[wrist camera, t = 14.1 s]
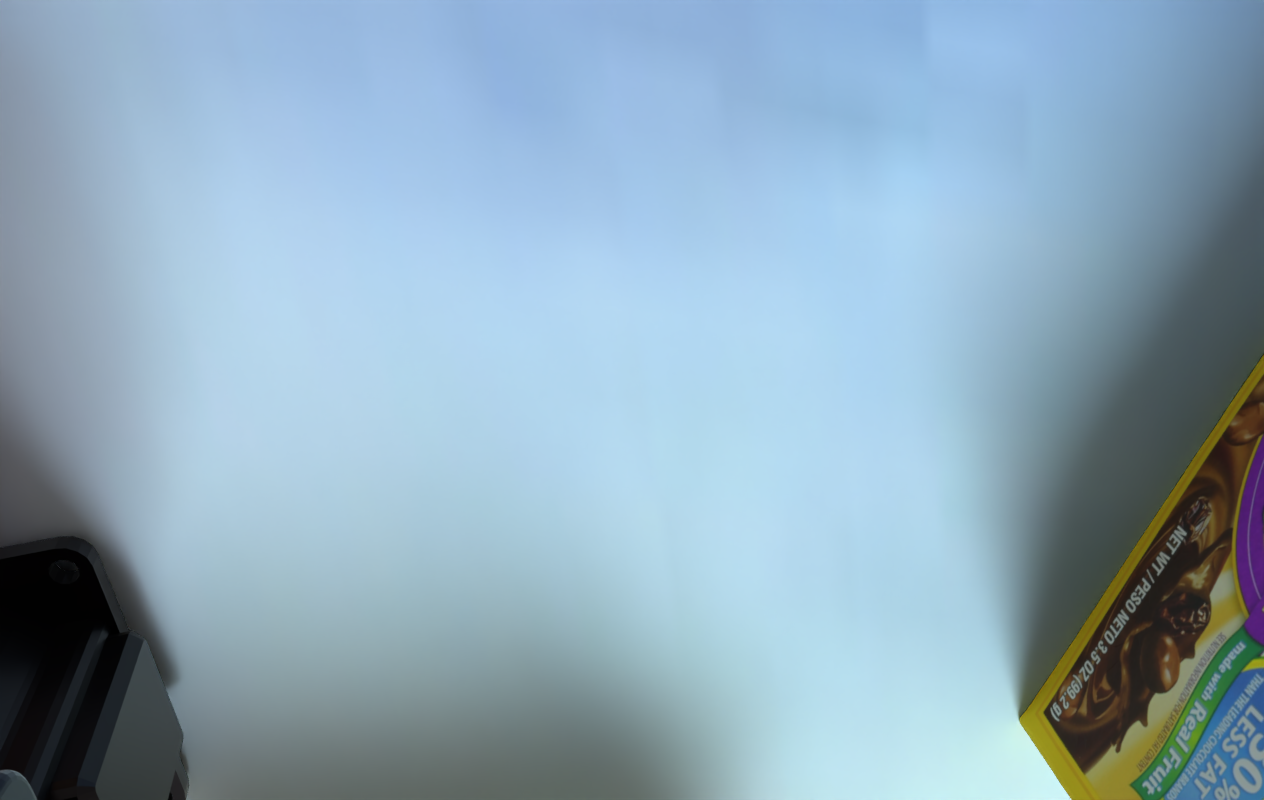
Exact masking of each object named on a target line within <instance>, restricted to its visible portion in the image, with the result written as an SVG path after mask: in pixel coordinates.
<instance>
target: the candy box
mask: <svg viewBox="0 0 1264 800" xmlns="http://www.w3.org/2000/svg"><path fill="white" fill-rule="evenodd" d="M1020 724H1021V725H1022V727H1023V728H1024V730H1025V731H1026V732H1027V734H1028V735H1029V737H1030V738H1031V740H1032V741H1033V743H1034V744H1035V746H1036V747H1037V749H1038V750H1039V752H1040V753H1041V755H1042V756H1043V758H1044V759H1045V761H1046V762H1047V764H1048V765H1049V767H1050V768H1051V770H1052V771H1053V773H1054V774H1055V776H1056V777H1057V779H1058V780H1059V782H1060V783H1061V785H1062V786H1063V788H1064V789H1065V791H1066V792H1067V794H1068V795H1069V796H1070V798H1071V799H1072V800H1264V355H1263V356H1262V357H1261V359H1260V360H1259V362H1258V363H1257V365H1256V366H1255V368H1254V369H1253V371H1252V372H1251V374H1250V375H1249V377H1248V378H1247V380H1246V381H1245V383H1244V384H1243V386H1242V387H1241V389H1240V390H1239V392H1238V393H1237V395H1236V396H1235V398H1234V399H1233V400H1232V402H1231V403H1230V405H1229V406H1228V408H1227V409H1226V411H1225V412H1224V414H1223V416H1222V417H1221V419H1220V420H1219V422H1218V423H1217V425H1216V426H1215V428H1214V429H1213V431H1212V432H1211V433H1210V435H1209V436H1208V438H1207V439H1206V441H1205V442H1204V444H1203V445H1202V446H1201V448H1200V449H1199V451H1198V452H1197V454H1196V455H1195V457H1194V458H1193V460H1192V461H1191V463H1190V464H1189V466H1188V467H1187V469H1186V471H1185V472H1184V474H1183V475H1182V477H1181V478H1180V480H1179V481H1178V483H1177V484H1176V486H1175V487H1174V489H1173V490H1172V492H1171V493H1170V495H1169V496H1168V498H1167V499H1166V501H1165V502H1164V504H1163V505H1162V507H1161V508H1160V510H1159V511H1158V513H1157V514H1156V516H1155V517H1154V519H1153V520H1152V522H1151V523H1150V525H1149V526H1148V528H1147V529H1146V531H1145V532H1144V534H1143V535H1142V537H1141V538H1140V540H1139V541H1138V543H1137V544H1136V546H1135V547H1134V549H1133V550H1132V552H1131V553H1130V555H1129V556H1128V558H1127V559H1126V561H1125V563H1124V564H1123V566H1122V567H1121V569H1120V570H1119V572H1118V573H1117V575H1116V576H1115V578H1114V579H1113V581H1112V582H1111V584H1110V585H1109V587H1108V588H1107V590H1106V591H1105V593H1104V594H1103V596H1102V598H1101V599H1100V601H1099V602H1098V604H1097V605H1096V607H1095V608H1094V610H1093V611H1092V613H1091V614H1090V616H1089V617H1088V619H1087V620H1086V622H1085V623H1084V625H1083V626H1082V628H1081V630H1080V631H1079V633H1078V634H1077V636H1076V637H1075V639H1074V640H1073V642H1072V643H1071V645H1070V646H1069V648H1068V649H1067V651H1066V652H1065V654H1064V655H1063V657H1062V658H1061V660H1060V661H1059V663H1058V664H1057V666H1056V667H1055V669H1054V670H1053V672H1052V673H1051V675H1050V676H1049V678H1048V679H1047V681H1046V682H1045V683H1044V685H1043V686H1042V688H1041V689H1040V691H1039V692H1038V694H1037V695H1036V697H1035V698H1034V700H1033V701H1032V703H1031V704H1030V706H1029V707H1028V708H1027V710H1026V711H1025V712H1024V713H1023V714H1022V716H1021V717H1020Z"/></svg>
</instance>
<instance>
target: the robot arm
mask: <svg viewBox="0 0 1264 800" xmlns="http://www.w3.org/2000/svg"><path fill="white" fill-rule="evenodd" d="M58 560H68V561H70V562H72V563H75V565H76V566H77V567H78V568H79V570H77V571H65V570H63V569H61V568H59V567H58V565H57V564H56V563H55V562H56V561H58ZM182 742H183V732H182V729H181V727H180V724H179V722H178V719H177V717H176V714H175V712H174V709H173V707H172V704H171V701H170V699H169V696H168V694H167V691H166V689H165V686H164V684H163V681H162V679H161V676H160V674H159V671H158V669H157V666H156V663H155V661H154V658H153V656H152V653H151V651H150V648H149V646H148V643H147V641H146V639H144V638H143V637H142V636H140V635H139V634H137V633H136V632H135V631H132V630H131V631H129V629H128V627H127V624H126V622H125V619H124V617H123V614H122V612H121V609H120V607H119V604H118V602H117V599H116V597H115V594H114V592H113V589H112V587H111V584H110V582H109V579H108V577H107V574H106V572H105V569H104V567H103V564H102V562H101V559H100V557H99V554H98V553H97V551H96V550H95V548H94V547H93V546H92V545H91V544H89V543H88V542H86V541H85V540H83V539H80V538H76V537H73V536H65V537H56V538H51V539H46V540H40V541H35V542H30V543H25V544H20V545H14V546H9V547H4V548H0V800H186V797H187V793H188V788H189V780H188V776H187V774H186V771H185V769H184V766H183V764H182V761H181V759H180V756H179V754H180V750H181V746H182Z"/></svg>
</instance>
